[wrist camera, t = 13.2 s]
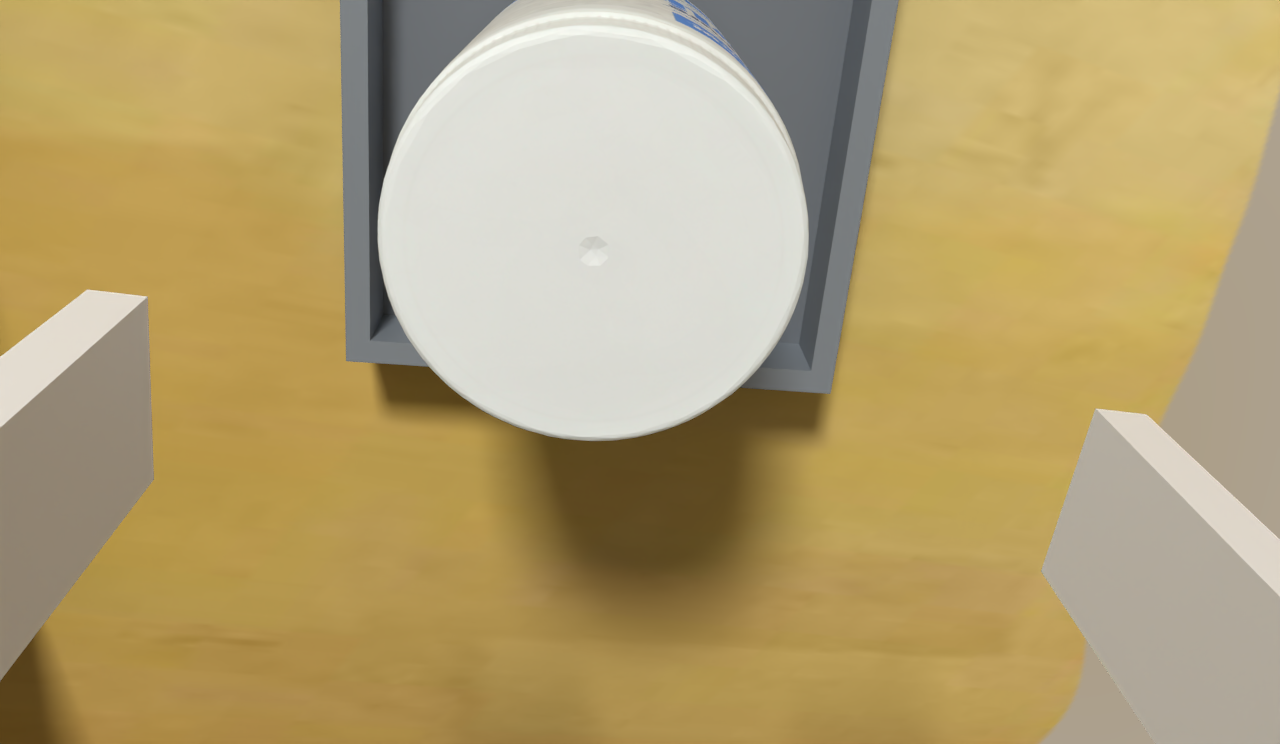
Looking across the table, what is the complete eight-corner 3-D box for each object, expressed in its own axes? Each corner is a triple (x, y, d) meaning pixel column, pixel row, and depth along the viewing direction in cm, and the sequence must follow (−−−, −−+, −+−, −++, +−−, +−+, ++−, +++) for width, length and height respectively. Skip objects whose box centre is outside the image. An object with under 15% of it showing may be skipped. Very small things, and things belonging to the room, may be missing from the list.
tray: (891, -127, 35) (921, -129, 32) (812, 355, 41) (830, 393, 38) (361, -180, 34) (336, -188, 31) (365, 323, 40) (346, 361, 37)
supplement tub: (774, 2, 35) (883, 69, 22) (710, 279, 39) (769, 481, 26) (474, -60, 34) (394, -30, 21) (436, 230, 38) (348, 415, 25)
